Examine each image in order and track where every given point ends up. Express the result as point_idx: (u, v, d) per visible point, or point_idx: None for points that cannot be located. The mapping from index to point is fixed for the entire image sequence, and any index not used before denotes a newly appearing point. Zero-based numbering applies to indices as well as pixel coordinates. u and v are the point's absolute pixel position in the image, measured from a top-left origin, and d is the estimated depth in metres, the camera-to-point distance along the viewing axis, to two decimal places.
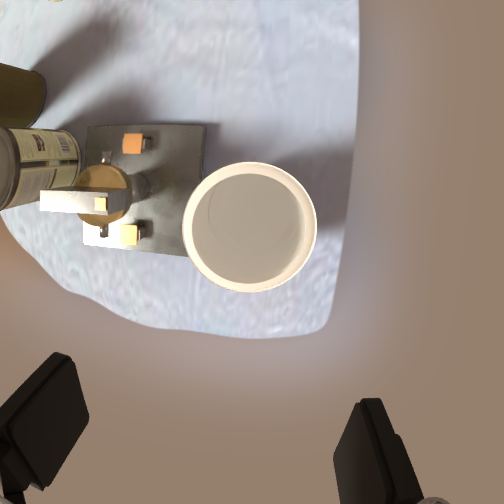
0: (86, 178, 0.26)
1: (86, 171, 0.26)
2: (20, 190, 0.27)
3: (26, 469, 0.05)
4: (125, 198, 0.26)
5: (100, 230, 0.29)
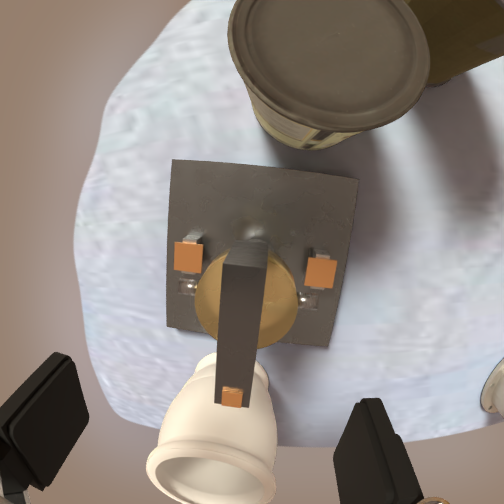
0: (277, 289, 0.17)
1: (289, 290, 0.17)
2: (272, 111, 0.15)
3: (26, 469, 0.05)
4: None
5: (189, 286, 0.19)
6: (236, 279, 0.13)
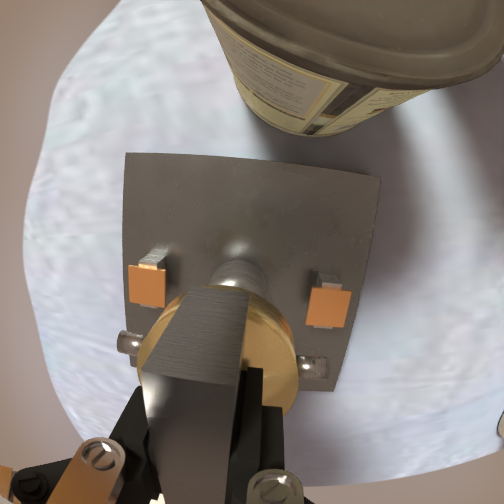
0: (265, 363, 0.10)
1: (285, 365, 0.10)
2: (255, 54, 0.07)
3: (151, 480, 0.06)
4: None
5: (132, 346, 0.12)
6: (173, 400, 0.05)
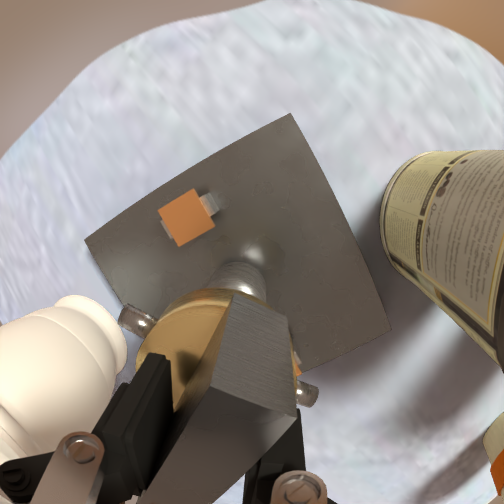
0: None
1: None
2: (489, 265, 0.08)
3: (133, 476, 0.06)
4: None
5: (136, 323, 0.11)
6: (227, 417, 0.05)
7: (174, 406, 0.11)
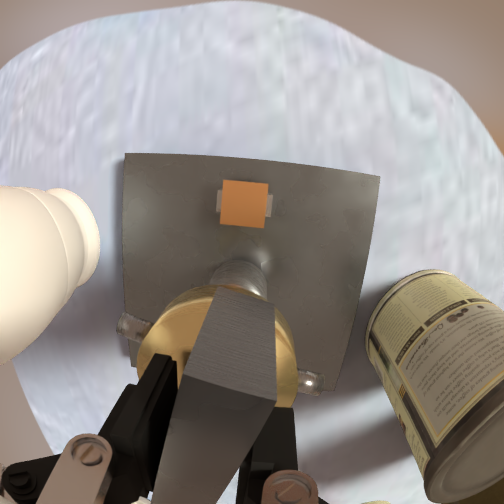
0: None
1: (288, 377, 0.10)
2: (464, 397, 0.10)
3: (140, 477, 0.06)
4: None
5: (134, 330, 0.12)
6: (207, 406, 0.05)
7: None
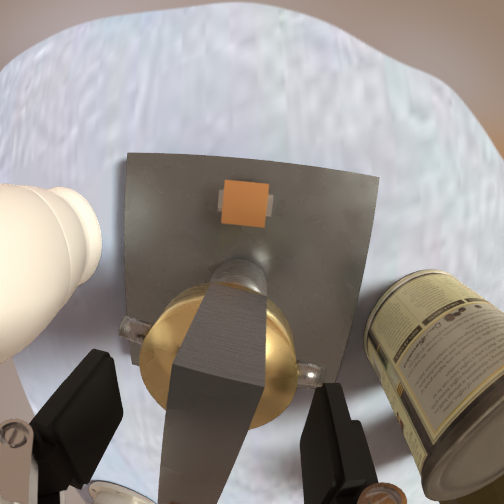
0: (269, 365, 0.10)
1: (287, 368, 0.10)
2: (461, 395, 0.10)
3: (67, 467, 0.06)
4: None
5: (135, 332, 0.12)
6: (198, 394, 0.06)
7: None
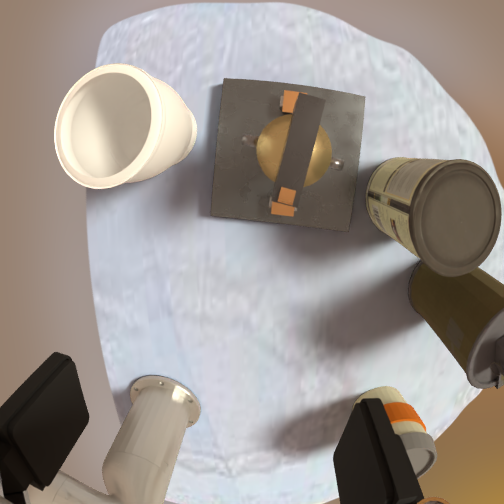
0: (318, 141, 0.23)
1: (326, 144, 0.23)
2: (418, 177, 0.23)
3: (26, 468, 0.05)
4: None
5: (251, 138, 0.25)
6: (306, 103, 0.18)
7: (277, 169, 0.24)
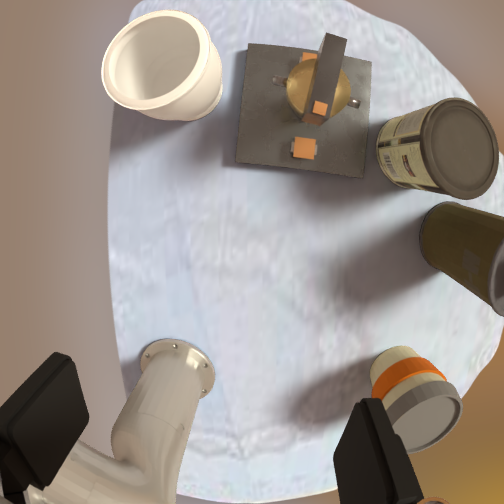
0: (339, 80, 0.25)
1: (346, 82, 0.25)
2: (423, 113, 0.25)
3: (26, 468, 0.05)
4: (313, 122, 0.25)
5: (280, 78, 0.26)
6: (332, 40, 0.20)
7: (305, 100, 0.26)
